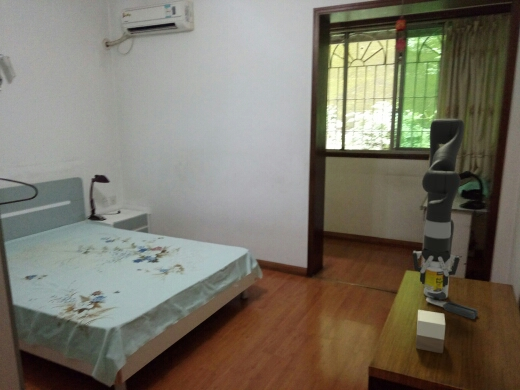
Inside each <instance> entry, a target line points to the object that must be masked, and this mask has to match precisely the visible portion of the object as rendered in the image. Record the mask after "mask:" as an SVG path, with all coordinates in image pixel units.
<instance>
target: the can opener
mask: <svg viewBox="0 0 520 390" xmlns="http://www.w3.org/2000/svg"><path fill="white" fill-rule="evenodd" d="M427 294H428V295H429V296H433V297H428V296H426V299H425V300H426V302H427V303H430V304H432V305H436V306H438V307H442V308H443V310H444V311H446V312H449V313H452V314H455V315H458V316H462V317H464V318H467V319H470V320H475V319H476V318H477V317H478V315H479V312H478V311H479V310H477V309H475V308H473V307H469V306H467V305H462V304H460V303H457V302H453V301H449V300H448V302H447V301H446V300H445V299H447V298H446V294H445V293H444V292H441V293H430V292H428V293H427ZM442 300H444V301H442Z"/></svg>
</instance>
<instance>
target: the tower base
mask: <svg viewBox="0 0 520 390" xmlns="http://www.w3.org/2000/svg"><path fill="white" fill-rule="evenodd" d="M415 334H416V337H415V349H418V350H423V351H428V352H433V353H438V354H443V353H444V344H445V339H444V340H443V339H437V338H432V337H426V336H421V335H417V331H416V333H415Z"/></svg>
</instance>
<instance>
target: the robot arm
mask: <svg viewBox="0 0 520 390" xmlns="http://www.w3.org/2000/svg"><path fill="white" fill-rule="evenodd" d="M464 133H465V124H464V121H463V119H459V118H435V119H433V120H432V121H431V124H430V129H429V168H428V169H427V170H426V171H425V173H424V175H423V177H422V182H421V186H422V188H423V190H424V191H425V192H426V193H427V202H426V203H427V205H426V213H425V222H424V229H423V232H424V234H423V235H424V236H423V247H422V250H420V251H416V250H413V252H412V260H413V266H414V271H418V272H419V273H420V274H419V281H420V283H421V284H422V285H424V281H425V270H426V268H427V267H428V266H429V264H430V263H431V261H436V262H440V265H441V267H442V270H444V271H443V272H444V278H443V289H442V292H444V293H445V294H446V299H447V298H448V295H449V294H448V293H449V282H450V276H455V275H456V272H457V269H458V266H459V264H460V263H459V262H460V261H461V260H460V256H459V255H457V254H456V255H453V254H452V247H453V246H452V245H453V244H452V243H453V237H454V231H455V222H454V220H453V219H452V211H453V209H452V208H453V206H454V200H455V198H456V196H457V193H458V191H459V189H460V186H461V181H462V180H461V177H460V175H459V173H457V172H456V165H457V158H458V154H459V151H460V149H461V145H462V143H463V139H464ZM440 145H441V146H440ZM421 256H422V259H424V261H423V263H422V265H421V266H420V265H419V260H418V259H420V258H421ZM451 262H452V264H451ZM427 293H428V291H426V290H425V289H424V288H423V294H424V295H425V297H433V296H429V295H428V294H427Z"/></svg>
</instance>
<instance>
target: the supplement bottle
mask: <svg viewBox="0 0 520 390" xmlns="http://www.w3.org/2000/svg"><path fill="white" fill-rule="evenodd" d="M443 271H444V270H442V267H441V265H440V262H436V261H431V263H430V264H429V266H428V267H427V268H426V270H425V281H424V284H423V290H424V289H425V290H426V291H428V292H430V293H441V292H442V289H443V278H444V272H443Z"/></svg>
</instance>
